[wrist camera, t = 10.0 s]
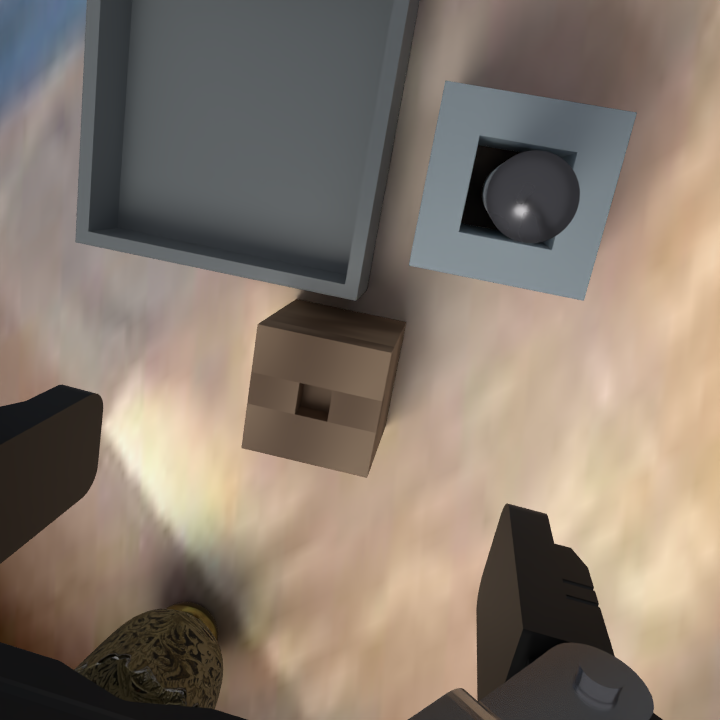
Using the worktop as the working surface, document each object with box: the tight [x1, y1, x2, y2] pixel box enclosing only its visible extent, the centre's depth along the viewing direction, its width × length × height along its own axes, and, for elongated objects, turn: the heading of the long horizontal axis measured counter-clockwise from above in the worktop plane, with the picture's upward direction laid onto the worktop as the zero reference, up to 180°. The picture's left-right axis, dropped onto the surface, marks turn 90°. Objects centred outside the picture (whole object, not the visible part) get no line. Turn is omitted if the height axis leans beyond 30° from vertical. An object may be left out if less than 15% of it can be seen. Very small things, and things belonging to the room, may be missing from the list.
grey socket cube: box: [409, 81, 637, 301], centre depth 26 cm, size 6×6×6 cm
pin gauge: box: [481, 150, 580, 243], centre depth 23 cm, size 2×2×12 cm
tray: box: [76, 0, 420, 301], centre depth 28 cm, size 13×13×3 cm
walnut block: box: [242, 299, 406, 478], centre depth 29 cm, size 6×6×6 cm
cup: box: [75, 602, 223, 709], centre depth 34 cm, size 8×7×8 cm
